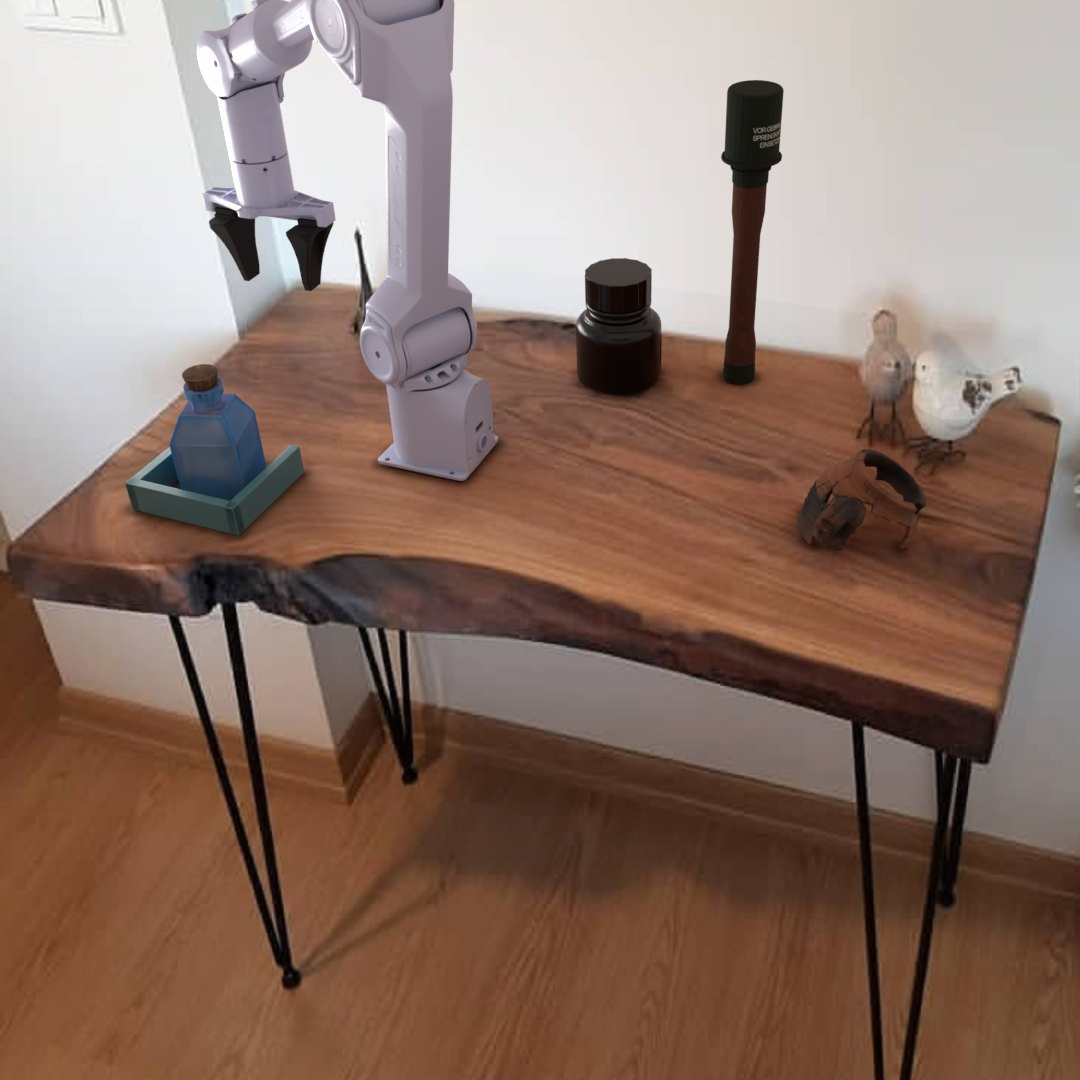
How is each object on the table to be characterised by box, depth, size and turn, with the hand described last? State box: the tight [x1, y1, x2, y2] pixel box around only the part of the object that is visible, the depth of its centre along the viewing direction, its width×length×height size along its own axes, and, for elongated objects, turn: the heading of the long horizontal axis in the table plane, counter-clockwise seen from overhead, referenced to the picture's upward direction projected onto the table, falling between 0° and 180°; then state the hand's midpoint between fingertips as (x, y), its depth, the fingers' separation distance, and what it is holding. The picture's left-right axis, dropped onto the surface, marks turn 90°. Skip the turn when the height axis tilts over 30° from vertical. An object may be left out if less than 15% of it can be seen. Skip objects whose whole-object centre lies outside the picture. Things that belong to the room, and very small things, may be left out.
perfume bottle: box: [169, 363, 267, 501], centre depth 114 cm, size 6×6×12 cm
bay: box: [124, 444, 305, 536], centre depth 116 cm, size 12×11×3 cm
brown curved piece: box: [797, 448, 927, 552], centre depth 104 cm, size 12×10×8 cm
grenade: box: [720, 79, 785, 385], centre depth 121 cm, size 6×6×30 cm
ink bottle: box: [575, 257, 663, 396], centre depth 127 cm, size 10×9×12 cm
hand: (282, 282), depth 129 cm, fingers open, 7 cm apart
